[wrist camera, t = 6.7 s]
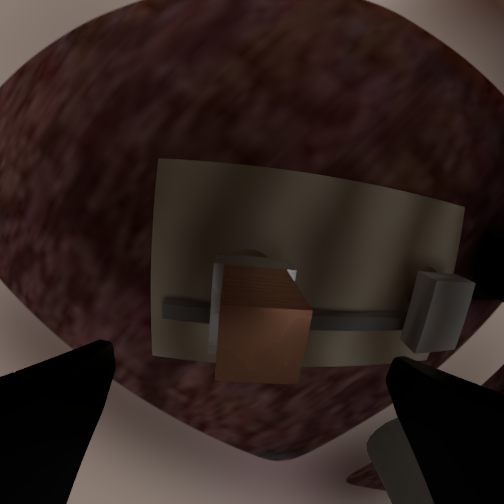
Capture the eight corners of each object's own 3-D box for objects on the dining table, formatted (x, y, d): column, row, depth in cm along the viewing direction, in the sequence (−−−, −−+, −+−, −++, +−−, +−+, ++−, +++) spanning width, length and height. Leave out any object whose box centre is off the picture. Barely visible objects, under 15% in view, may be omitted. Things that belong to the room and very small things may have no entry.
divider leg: (285, 255, 17) (327, 311, 9) (274, 330, 18) (299, 420, 10) (217, 248, 17) (204, 302, 9) (211, 326, 18) (200, 416, 10)
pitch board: (453, 205, 19) (496, 212, 14) (418, 351, 22) (448, 381, 17) (164, 160, 18) (140, 151, 13) (157, 344, 20) (139, 385, 15)
